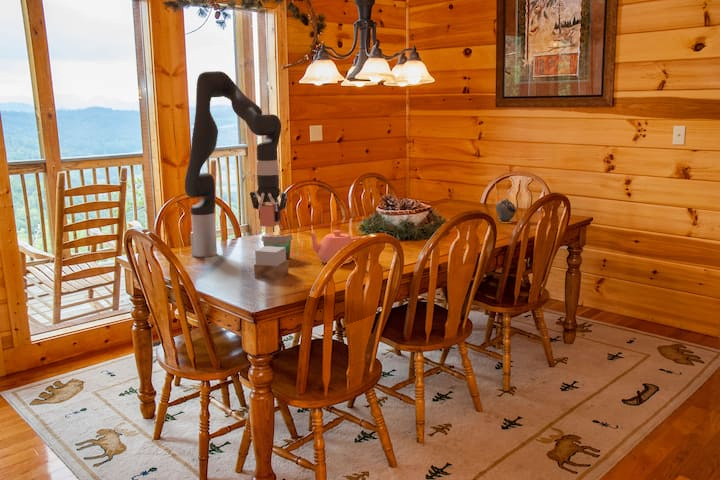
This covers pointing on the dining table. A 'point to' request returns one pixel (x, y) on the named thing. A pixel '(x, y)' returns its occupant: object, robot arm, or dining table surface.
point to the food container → (278, 242)
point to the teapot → (331, 244)
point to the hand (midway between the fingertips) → (269, 221)
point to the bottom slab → (271, 271)
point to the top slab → (270, 255)
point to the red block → (267, 216)
